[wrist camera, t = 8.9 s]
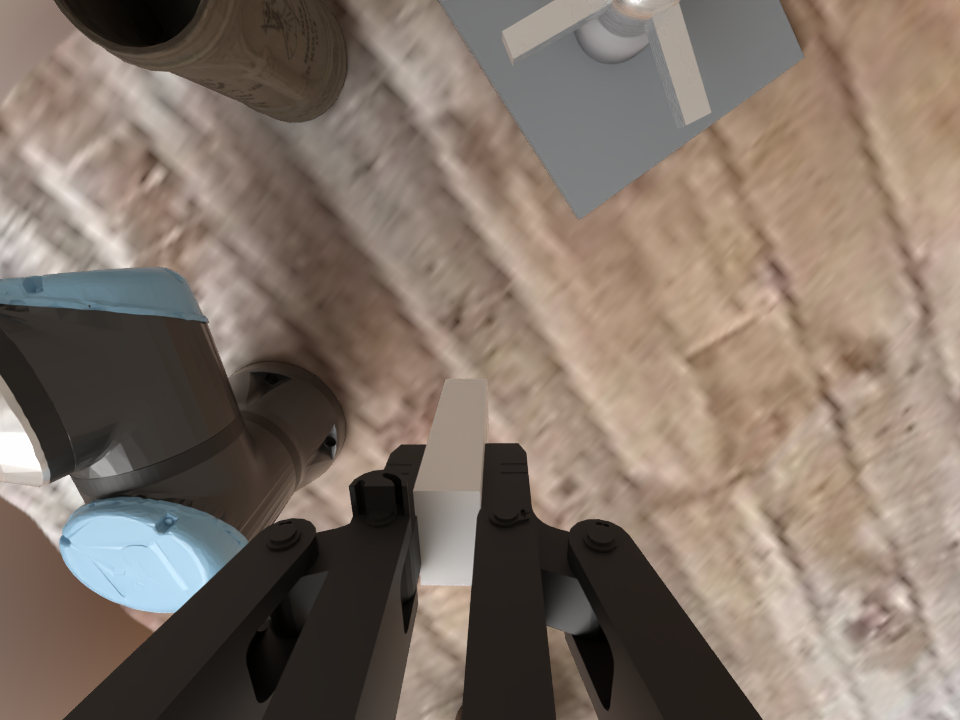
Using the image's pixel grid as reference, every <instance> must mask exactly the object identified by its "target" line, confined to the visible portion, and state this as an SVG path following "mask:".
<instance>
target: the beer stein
mask: <svg viewBox="0 0 960 720" xmlns="http://www.w3.org/2000/svg"><path fill="white" fill-rule="evenodd" d="M54 1H55V3H56V4H57V6H58V7H59V9H60V10H61V12H62V13H63V14H64V15H65V16H66V17H67V18H68V19H69V20H70V21H71V23H72V24H73V25H74V26H75V27H76V28H77V29H78V30H80V31H81V32H82V33H83V34H84V35H85V36H87V37H88V38H89V39H90V40H92V41H93V42H95V43H96V44H98V45H100V46H102V47H103V48H105V49H106V50H107V51H108V52H110V53H111V54H113V55H115V56H116V57H118V58H120V59H121V60H123V61H124V62H127V63H130V64H133V65H136V66H138V67H141V68H145V69H148V70H151V71H166V72H171V73H173V74H176V75H178V76H181V77H183V78H186V79H188V80H190V81H193V82H195V83H198V84H200V85H202V86H205V87H207V88H209V89H211V90H213V91H216V92H218V93H220V94H222V95H225V96H227V97H229V98H232V99H234V100H237V101H240V102H242V103H244V104H245V105H247V106H248V107H250V108H252V109H253V110H255V111H257V112H260V113H263V114H266V115H268V116H270V117H272V118H275V119H277V120H280V121H285V122H289V123H291V122H304V121H308V120H312V119H314V118H316V117H317V116H319V115H321V114H323V113H324V112H325V111H326V110H327V109H328V108H329V107H330V106H331V105H332V104H333V103H334V102H335V101H336V100H337V98H338V96H339V94H340V92H341V90H342V88H343V84H344V80H345V76H346V64H347V56H346V49H345V43H344V39H343V36H342V33H341V30H340V28H339V26H338V24H337V22H336V20H335V18H334V16H333V14H332V13H331V12H330V11H329V10H328V9H327V7H326V6H325V5H324V4H323V3H322V1H321V0H54Z"/></svg>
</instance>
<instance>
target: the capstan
mask: <svg viewBox="0 0 960 720" xmlns="http://www.w3.org/2000/svg"><path fill="white" fill-rule="evenodd" d="M679 1H680V0H554V1H552V2H551V3H549V4H547V5H545V6H544V7H542V8H540V9H539V10H537V11H535V12H534V13H532V14H530V15H529V16H527V17H525V18H524V19H522V20H520V21H519V22H517V23H515V24H514V25H512V26H510V27H509V28H507V29H505V30H503V31H502V41H503V44H504V46H505V48H506V51H507V53H508V56H509V58H510V61H511V63H512V66H514V65H515V64H517V63H519V62H521V61H522V60H524V59H526V58H528V57H529V56H531V55H533V54H535V53H536V52H538V51H540V50H541V49H543V48H545V47H547V46H548V45H550V44H552V43H554V42H555V41H557V40H559V39H561V38H562V37H564V36H566V35H567V34H569V33H571V32H573V31H574V30H576V29H578V28H580V27H581V26H583V25H585V24H587V23H588V22H590V21H592V20H593V19H595V18H597V19H598V21H599V22H600V24H601V25H602V26H603V27H604V28H605V29H606V30H607V31H609V32H610V33H612V34H614V35H616V36H619V37H624V38H632V37H637V36H640V35H643V34H645V33H646V34H647V38H648V41H649V44H650V47H651V50H652V53H653V56H654V59H655V62H656V66H657V69H658V72H659V75H660V78H661V81H662V84H663V87H664V90H665V94H666V97H667V100H668V103H669V106H670V109H671V112H672V115H673V119H674V122H675V125H676V128H677V129H678V128H681V127H684V126H686V125H688V124H690V123H692V122H694V121H696V120H698V119H700V118H702V117H704V116H706V115H708V114H710V113H711V109H710V106H709V102H708V99H707V96H706V92H705V89H704V86H703V82H702V79H701V75H700V72H699V69H698V65H697V62H696V59H695V55H694V52H693V48H692V45H691V42H690V38H689V35H688V32H687V28H686V25H685V21H684V18H683V15H682V11H681V8H680V5H679Z"/></svg>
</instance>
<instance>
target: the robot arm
mask: <svg viewBox="0 0 960 720" xmlns="http://www.w3.org/2000/svg"><path fill="white" fill-rule="evenodd" d="M207 323H209V320H208V318H207V317H206V316H204V315H203V314H202V312H201V309H200V307H199V305H198V303H197V300H196V298H195V296H194V294H193V291H192V289H191V287H190V285H189V283H188V282H187V280H186V279H185V278H184V277H183V276H182V275H181V274H179V273H177V272H176V271H173V270H171V269H168V268H163V267H141V268H123V269H108V270H94V271H82V272H70V273H59V274H49V275H43V276H30V277H21V278H6V279H0V483H1V482H3V483H10V484H18V485H25V486H33V487H42V486H45V485H48V484H50V483H52V482H54V481H56V480H58V479H60V478H63V477H65V476H67V475H70V476H71V478H72V480H73V482H74V483H75V485H76V487H77V489H78V491H79V493H80V495H81V496H82V498H83V500H84V502H85V505H83V506H81V507H80V508H79V509H77V510H75V511H74V513H73V514H71V516H70V518H69V520H68V522H67V523H66V524H65V525H64V527H63V531H62V534H63V535H62V536H61V538H60V540H59V546H60V551H61V555H62V557H63V559H64V562H65V563H66V565H67V566H68V568H69V569H70V571H71V572H72V573H73V574H74V575H75V576H76V577H77V578H78V579H79V580H80V581H81V582H82V583H83V584H84V585H86V586H87V587H88V588H90V589H91V590H93V591H94V592H96V593H97V594H99V595H101V596H103V597H104V598H107V599H109V600H111V601H113V602H116V603H119V604H122V605H125V606H127V607H130V608H133V609H137V610H142V611H147V612H156V613H174V614H173V615H172V616H171V617H170V618H169V619H168V620H167V621H166V622H165V623H164V624H163V625H162V626H160V627H159V628H158V629H157V630H156V631H155V632H154V633H153V634H152V635H151V636H150V637H149V638H148V639H147V640H146V641H145V642H144V643H143V644H142V645H141V646H140V647H138V648H137V649H136V650H135V651H134V652H133V653H132V654H131V655H130V656H129V657H128V658H127V659H126V660H125V661H124V662H123V663H122V664H121V665H119V667H118V668H116V669H115V670H114V671H113V672H112V673H111V674H110V675H109V676H108V677H107V678H106V679H105V680H104V681H103V682H102V683H101V684H100V685H99V686H97V688H95V689H94V690H93V691H92V692H91V693H90V694H89V695H88V696H87V697H86V698H85V699H84V700H83V701H82V702H81V703H80V704H78V706H76V707H75V709H73V710H72V711H71V712H70V713H69V714H68V715H67V716H66V717H65V718H64V719H63V720H395V719H396V714H397V708H398V703H399V698H400V693H401V688H402V683H403V678H404V673H405V668H406V663H407V657H408V652H409V647H410V642H411V637H412V632H413V627H414V622H415V617H416V612H417V606H418V594H417V583H418V578H419V573H420V576H421V585H442V586H472V588H471V601H470V614H469V627H468V641H467V654H466V667H465V680H464V693H463V707H462V720H556V714H555V704H554V695H553V685H552V675H551V666H550V656H549V646H548V637H547V627H546V626H549V627H552V628H555V629H558V630H561V631H564V634H565V639H566V641H567V643H568V646H569V648H570V651H571V653H572V656H573V658H574V660H575V663H576V665H577V668H578V670H579V673H580V675H581V677H582V680H583V682H584V685H585V687H586V690H587V692H588V694H589V697H590V699H591V702H592V704H593V707H594V709H595V711H596V714H597V716H598V719H599V720H763V719H762V718H761V716H760V715H759V714H758V712H757V711H756V710H755V708H754V707H753V705H752V704H751V703H750V701H749V700H748V698H747V697H746V696H745V694H744V693H743V692H742V690H741V689H740V687H739V686H738V685H737V683H736V682H735V681H734V679H733V678H732V676H731V675H730V674H729V672H728V671H727V669H726V668H725V667H724V665H723V664H722V663H721V661H720V660H719V658H718V657H717V656H716V654H715V653H714V652H713V650H712V649H711V647H710V646H709V645H708V643H707V642H706V640H705V639H704V638H703V636H702V635H701V634H700V632H699V631H698V629H697V628H696V627H695V625H694V624H693V623H692V621H691V620H690V618H689V617H688V616H687V614H686V613H685V611H684V610H683V609H682V607H681V606H680V605H679V603H678V602H677V600H676V599H675V598H674V596H673V595H672V594H671V592H670V591H669V589H668V588H667V587H666V585H665V584H664V583H663V581H662V580H661V578H660V577H659V576H658V574H657V573H656V571H655V570H654V569H653V567H652V566H651V565H650V563H649V562H648V560H647V559H646V558H645V556H644V555H643V554H642V552H641V551H640V549H639V548H638V547H637V545H636V544H635V542H634V541H633V540H632V538H631V537H630V536H629V534H627V533H626V532H625V531H624V530H623V529H622V528H621V527H619V526H617V525H615V524H613V523H611V522H608V521H604V520H600V519H589V520H584V521H581V522H578V523H577V524H575V525H574V526H573V527H572V528H571V529H570V532H568V531H564V530H560V529H556V528H554V527H551V526H549V525H547V524H545V523H543V522H542V521H541V520H539V519H538V518H537V517H536V515H535V514H534V512H533V509H532V505H531V495H530V485H529V475H528V465H527V455H526V452H525V451H524V449H523V448H522V447H521V446H520V445H519V444H518V443H489V425H488V379H446V380H445V383H444V387H443V390H442V393H441V397H440V400H439V404H438V407H437V411H436V414H435V417H434V421H433V424H432V428H431V431H430V435H429V438H428V441H427V445H400V446H399V447H398V448H397V449H395V450H394V451H393V452H392V453H391V454H390V456H389V459H388V461H387V463H386V466H385V468H384V470H376V471H371V472H368V473H365V474H363V475H361V476H359V477H358V478H356V479H354V481H353V482H352V483H351V484H350V485H349V491H350V498H351V505H352V512H353V518H352V520H351V522H350V524H348V525H346V526H343V527H339V528H336V529H332V530H327V531H322V532H318V533H316V528H315V527H314V525H313V524H312V523H311V522H310V521H307V520H305V519H296V518H291V519H287V520H282V521H279V522H276V523H274V522H275V521H276V519H277V518H278V516H279V514H280V513H281V511H282V510H283V508H284V507H285V505H286V504H287V502H288V501H289V499H290V498H291V496H292V495H293V493H294V492H296V491H297V490H299V489H300V488H302V487H304V486H305V485H307V484H309V483H310V482H312V481H313V480H315V479H317V478H318V477H320V476H321V475H322V474H323V473H325V472H326V471H327V470H328V468H329V467H330V466H331V465H332V463H333V462H334V460H335V459H336V457H337V456H338V454H339V452H340V450H341V448H342V446H343V443H344V439H345V432H346V425H345V418H344V414H343V411H342V408H341V406H340V404H339V402H338V400H337V398H336V397H335V395H334V394H333V393H332V391H331V390H330V389H329V388H328V387H327V386H326V385H325V384H324V383H323V382H322V381H321V380H320V379H319V378H317V377H316V376H314V375H313V374H311V373H310V372H308V371H306V370H304V369H302V368H300V367H297V366H294V365H291V364H287V363H282V362H260V363H255V364H252V365H249V366H246V367H244V368H242V369H241V370H239V371H237V372H236V373H234V374H233V375H232V376H230V377H229V378H228V377H227V375H226V372H225V369H224V367H223V364H222V361H221V359H220V356H219V353H218V351H217V348H216V345H215V343H214V340H213V337H212V335H211V332H210V329H209V327H208V324H207Z"/></svg>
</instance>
